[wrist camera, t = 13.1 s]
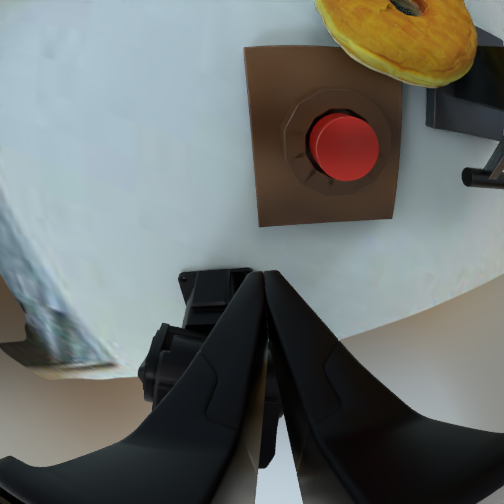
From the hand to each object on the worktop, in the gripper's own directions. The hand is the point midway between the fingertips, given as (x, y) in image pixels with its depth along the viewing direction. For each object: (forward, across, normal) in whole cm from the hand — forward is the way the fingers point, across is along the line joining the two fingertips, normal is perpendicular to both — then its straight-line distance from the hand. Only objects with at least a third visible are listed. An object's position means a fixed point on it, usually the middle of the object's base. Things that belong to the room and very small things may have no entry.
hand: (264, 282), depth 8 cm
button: (+9, -5, -2) cm, 11 cm away
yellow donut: (+8, -9, -12) cm, 17 cm away
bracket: (+13, -18, -8) cm, 24 cm away
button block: (+13, -5, -2) cm, 14 cm away
